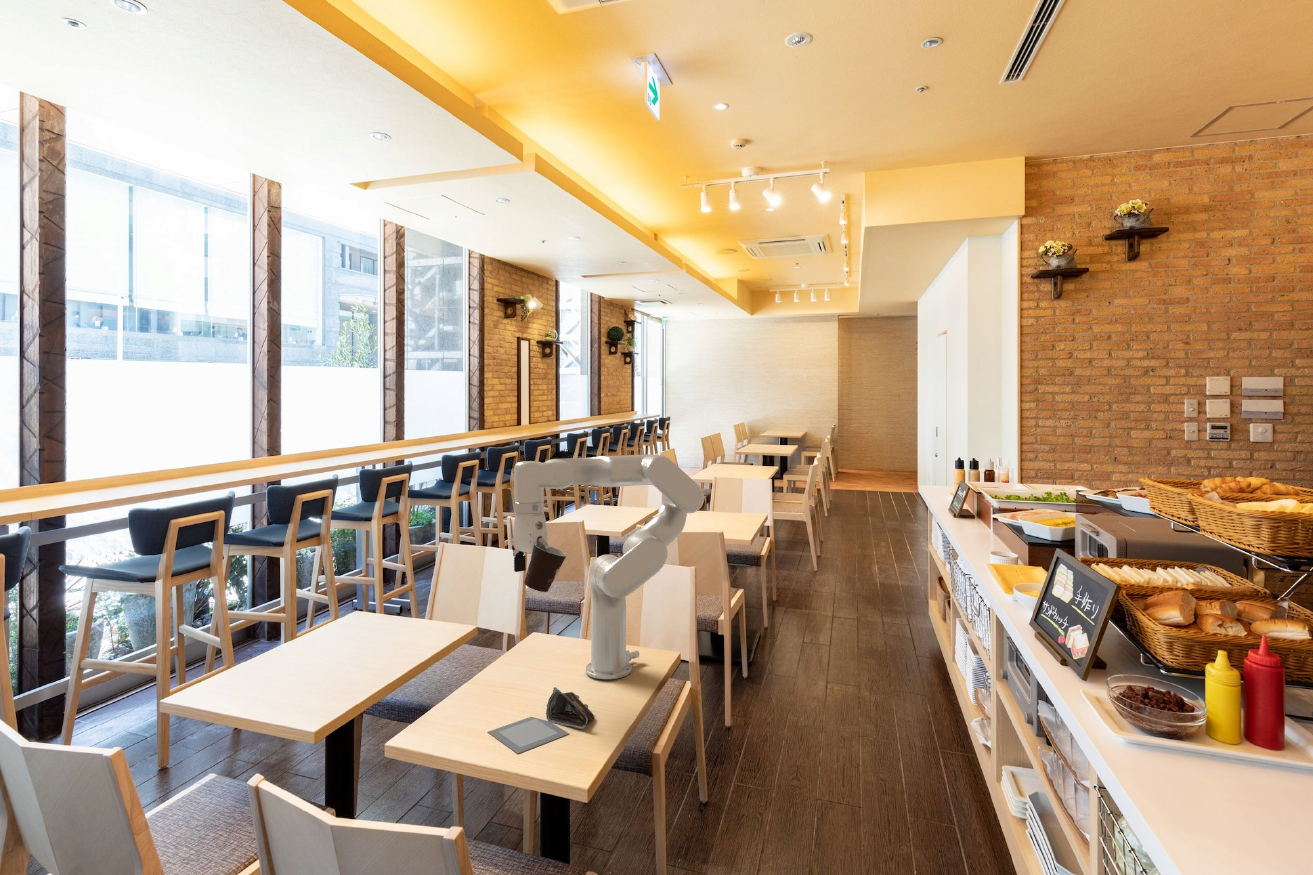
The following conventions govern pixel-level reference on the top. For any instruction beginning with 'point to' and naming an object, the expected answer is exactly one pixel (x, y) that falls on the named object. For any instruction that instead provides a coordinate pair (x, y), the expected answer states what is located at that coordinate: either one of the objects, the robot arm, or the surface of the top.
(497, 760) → the top surface
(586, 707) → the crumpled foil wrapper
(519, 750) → the mat
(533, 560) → the coffee mug
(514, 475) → the robot arm
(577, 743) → the top surface
